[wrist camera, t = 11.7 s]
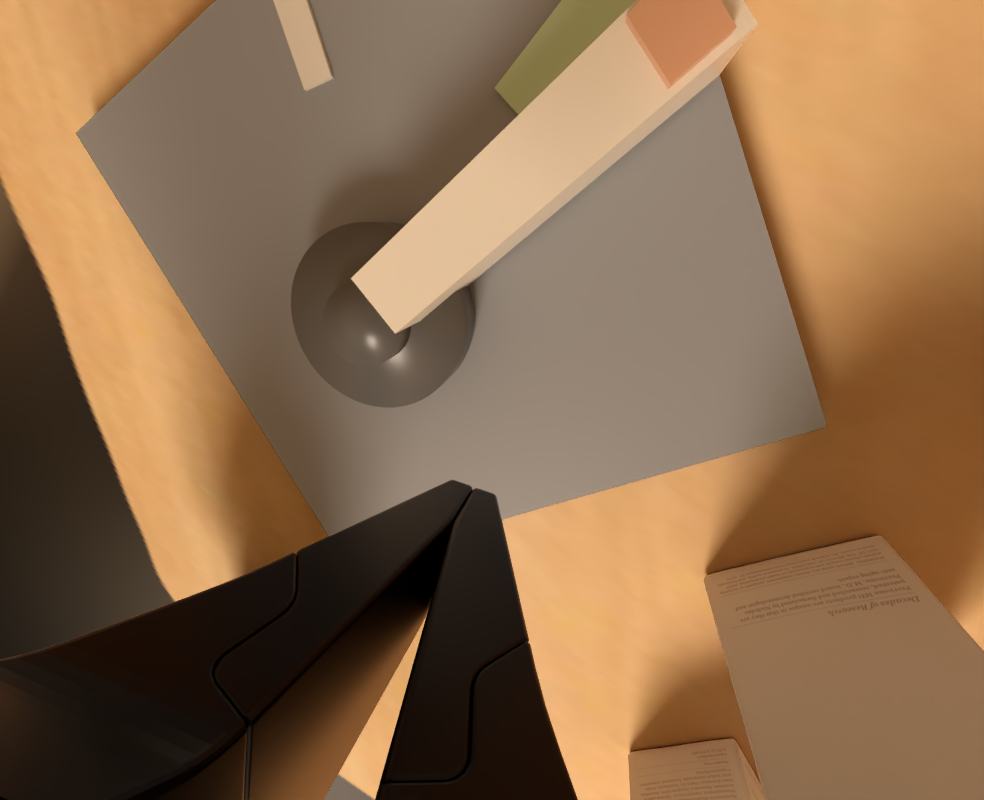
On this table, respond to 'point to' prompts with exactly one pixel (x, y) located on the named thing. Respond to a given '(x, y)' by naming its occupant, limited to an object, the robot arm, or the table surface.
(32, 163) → the table surface
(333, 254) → the beige bar with disc
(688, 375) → the grey mat
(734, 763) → the product box
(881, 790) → the supplement box
